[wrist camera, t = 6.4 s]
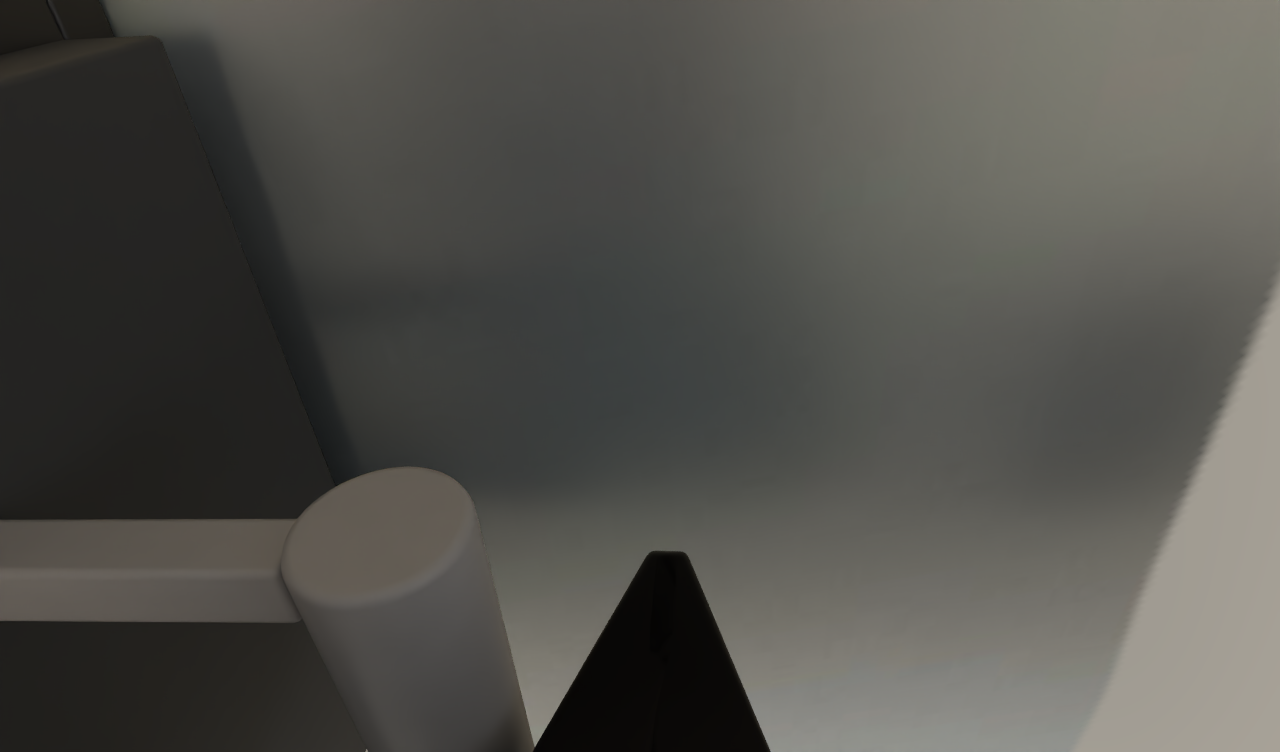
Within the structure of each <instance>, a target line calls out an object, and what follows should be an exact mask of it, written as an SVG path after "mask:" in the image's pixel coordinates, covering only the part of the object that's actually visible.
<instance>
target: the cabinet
mask: <svg viewBox="0 0 1280 752" xmlns="http://www.w3.org/2000/svg"><path fill="white" fill-rule="evenodd" d="M112 37H114V35H113V33H112V30H111V28H110V26H109V23H108V21H107V19H106V16H105V14H104V12H103V9H102V7H101V4H100V2H99V0H0V55H2V54H6V53H11V52H15V51H19V50H23V49H27V48H31V47H35V46H39V45H43V44H47V43H51V42H56V41H60V40H71V39H92V38H112Z"/></svg>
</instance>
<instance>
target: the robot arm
mask: <svg viewBox="0 0 1280 752" xmlns="http://www.w3.org/2000/svg"><path fill="white" fill-rule="evenodd" d="M533 752H770V749H769V747H768V744H767V742H766V740H765V737H764V735H763V733H762V730H761V728H760V725H759V723H758V721H757V718H756V716H755V714H754V711H753V709H752V706H751V704H750V702H749V699H748V697H747V695H746V692H745V690H744V688H743V685H742V683H741V680H740V678H739V676H738V673H737V671H736V669H735V666H734V664H733V661H732V659H731V657H730V654H729V652H728V650H727V647H726V645H725V642H724V640H723V638H722V635H721V633H720V631H719V628H718V626H717V623H716V621H715V619H714V616H713V614H712V612H711V609H710V607H709V604H708V602H707V600H706V597H705V595H704V593H703V590H702V588H701V585H700V583H699V581H698V578H697V576H696V574H695V571H694V569H693V566H692V564H691V562H690V559H689V557H688V556H687V554H686V553H684V552H681V551H652V552H650V553H649V554H648V555H647V556H646V558H645V559H644V561H643V563H642V565H641V566H640V568H639V570H638V571H637V573H636V575H635V577H634V578H633V580H632V582H631V583H630V585H629V587H628V589H627V590H626V592H625V594H624V595H623V597H622V599H621V601H620V602H619V604H618V606H617V607H616V609H615V611H614V613H613V614H612V616H611V618H610V619H609V621H608V623H607V625H606V626H605V628H604V630H603V631H602V633H601V635H600V637H599V638H598V640H597V642H596V644H595V645H594V647H593V649H592V650H591V652H590V654H589V656H588V657H587V659H586V661H585V662H584V664H583V666H582V668H581V669H580V671H579V673H578V674H577V676H576V678H575V680H574V681H573V683H572V685H571V686H570V688H569V690H568V692H567V693H566V695H565V697H564V698H563V700H562V702H561V704H560V705H559V707H558V709H557V710H556V712H555V714H554V716H553V717H552V719H551V721H550V722H549V724H548V726H547V728H546V729H545V731H544V733H543V734H542V736H541V738H540V740H539V741H538V743H537V745H536V746H535V748H534V750H533Z"/></svg>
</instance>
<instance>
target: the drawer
mask: <svg viewBox="0 0 1280 752" xmlns="http://www.w3.org/2000/svg"><path fill="white" fill-rule="evenodd" d="M534 748H535V747H534V743H533V739H532V735H531V731H530V727H529V723H528V719H527V715H526V711H525V707H524V703H523V699H522V695H521V691H520V687H519V682H518V678H517V674H516V670H515V666H514V662H513V658H512V654H511V650H510V646H509V642H508V638H507V634H506V630H505V626H504V622H503V618H502V614H501V610H500V605H499V601H498V597H497V593H496V589H495V585H494V581H493V577H492V573H491V569H490V565H489V561H488V557H487V553H486V549H485V545H484V541H483V537H482V533H481V529H480V524H479V520H478V516H477V512H476V508H475V505H474V502H473V500H472V498H471V496H470V495H469V493H468V492H467V491H466V490H465V489H464V488H463V487H462V486H461V485H460V484H459V483H458V482H457V481H456V480H454V479H453V478H452V477H450V476H448V475H446V474H444V473H442V472H439V471H437V470H433V469H429V468H422V467H394V468H386V469H381V470H377V471H373V472H369V473H366V474H363V475H360V476H358V477H355V478H352V479H350V480H348V481H346V482H344V483H342V484H340V485H338V486H336V487H335V485H334V482H333V480H332V477H331V474H330V472H329V469H328V467H327V464H326V462H325V459H324V457H323V454H322V451H321V449H320V446H319V444H318V441H317V439H316V436H315V434H314V431H313V428H312V426H311V423H310V421H309V418H308V416H307V413H306V410H305V408H304V405H303V403H302V400H301V398H300V395H299V393H298V390H297V387H296V385H295V382H294V380H293V377H292V375H291V372H290V370H289V367H288V364H287V362H286V359H285V357H284V354H283V352H282V349H281V346H280V344H279V341H278V339H277V336H276V334H275V331H274V329H273V326H272V323H271V321H270V318H269V316H268V313H267V311H266V308H265V306H264V303H263V300H262V298H261V295H260V293H259V290H258V288H257V285H256V282H255V280H254V277H253V275H252V272H251V270H250V267H249V265H248V262H247V259H246V257H245V254H244V252H243V249H242V247H241V244H240V242H239V239H238V236H237V234H236V231H235V229H234V226H233V224H232V221H231V218H230V216H229V213H228V211H227V208H226V206H225V203H224V201H223V198H222V195H221V193H220V190H219V188H218V185H217V183H216V180H215V178H214V175H213V172H212V170H211V167H210V165H209V162H208V160H207V157H206V154H205V152H204V149H203V147H202V144H201V142H200V139H199V137H198V134H197V131H196V129H195V126H194V124H193V121H192V119H191V116H190V114H189V111H188V108H187V106H186V103H185V101H184V98H183V96H182V93H181V90H180V88H179V85H178V83H177V80H176V78H175V75H174V73H173V70H172V67H171V65H170V62H169V60H168V57H167V55H166V52H165V50H164V47H163V44H162V42H161V41H160V39H159V38H157V37H153V36H133V37H112V38H92V39H71V40H60V41H56V42H51V43H47V44H43V45H39V46H35V47H31V48H27V49H23V50H19V51H15V52H11V53H6V54H2V55H0V752H365V751H366V749H367V750H368V752H533V750H534Z"/></svg>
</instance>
